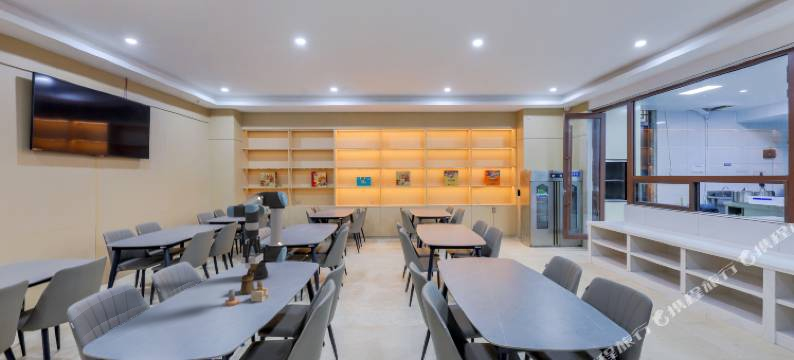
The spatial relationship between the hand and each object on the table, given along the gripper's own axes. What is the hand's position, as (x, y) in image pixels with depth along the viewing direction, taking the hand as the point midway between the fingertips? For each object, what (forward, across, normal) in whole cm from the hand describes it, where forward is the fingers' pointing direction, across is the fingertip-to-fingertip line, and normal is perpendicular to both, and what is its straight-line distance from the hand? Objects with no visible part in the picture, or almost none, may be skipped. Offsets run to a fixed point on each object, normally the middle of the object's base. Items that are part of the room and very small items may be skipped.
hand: (252, 265), depth 187 cm
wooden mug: (+22, -14, -10) cm, 28 cm away
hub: (+21, +6, -10) cm, 24 cm away
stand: (+21, -2, +4) cm, 22 cm away
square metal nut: (-3, 0, 0) cm, 3 cm away
